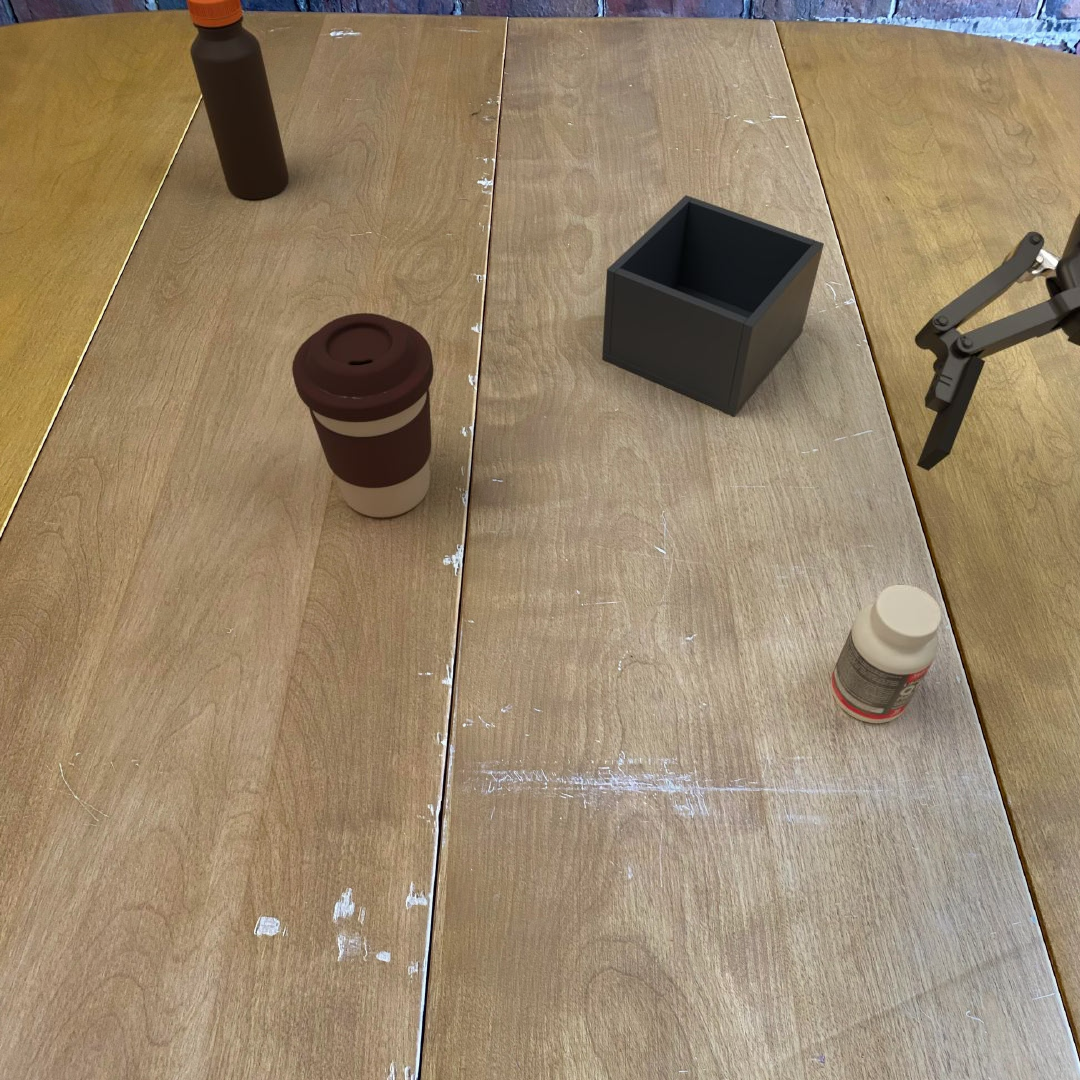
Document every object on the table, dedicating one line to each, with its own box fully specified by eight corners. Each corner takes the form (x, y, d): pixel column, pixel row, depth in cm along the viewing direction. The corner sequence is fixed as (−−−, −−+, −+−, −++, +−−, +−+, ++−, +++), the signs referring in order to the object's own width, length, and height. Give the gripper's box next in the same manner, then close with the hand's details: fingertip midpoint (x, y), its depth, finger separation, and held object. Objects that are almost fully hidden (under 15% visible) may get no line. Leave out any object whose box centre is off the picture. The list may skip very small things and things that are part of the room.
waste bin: (801, 333, 93) (824, 243, 85) (734, 417, 86) (752, 326, 78) (674, 284, 98) (685, 194, 90) (601, 359, 91) (606, 269, 83)
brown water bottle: (286, 163, 112) (244, -26, 97) (293, 195, 108) (250, 2, 93) (225, 172, 111) (173, -18, 96) (230, 205, 107) (176, 11, 91)
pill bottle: (900, 737, 66) (946, 658, 59) (820, 709, 67) (855, 628, 60) (914, 673, 69) (959, 590, 62) (838, 647, 71) (873, 563, 63)
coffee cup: (367, 429, 85) (338, 284, 73) (468, 465, 82) (455, 320, 71) (300, 508, 79) (258, 364, 68) (407, 549, 77) (381, 406, 65)
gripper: (1282, 337, 65) (1202, 621, 59) (931, 181, 67) (820, 442, 61) (1382, 276, 58) (1303, 592, 52) (987, 103, 60) (866, 390, 54)
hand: (1042, 512), depth 56 cm, fingers open, 13 cm apart
